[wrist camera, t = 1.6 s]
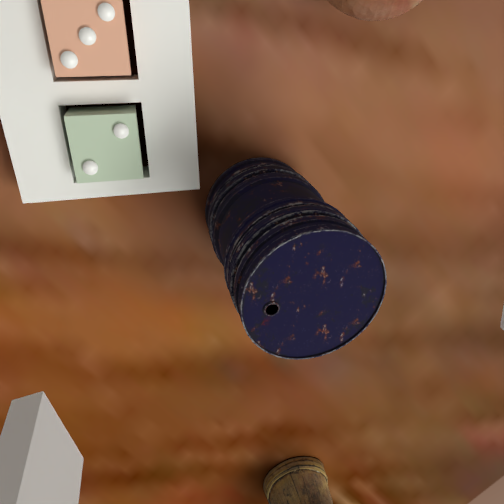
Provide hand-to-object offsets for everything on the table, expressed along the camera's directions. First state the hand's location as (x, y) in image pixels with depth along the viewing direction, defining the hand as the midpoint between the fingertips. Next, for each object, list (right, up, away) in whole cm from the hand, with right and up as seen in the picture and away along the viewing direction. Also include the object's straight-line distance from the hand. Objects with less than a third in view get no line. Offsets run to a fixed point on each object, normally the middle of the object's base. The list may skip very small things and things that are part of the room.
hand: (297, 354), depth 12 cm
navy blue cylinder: (-1, +7, +28) cm, 29 cm away
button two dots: (-12, +11, +21) cm, 27 cm away
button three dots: (-12, +18, +17) cm, 28 cm away
